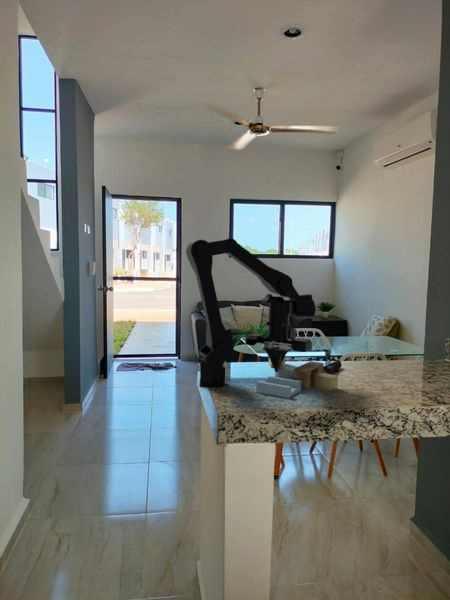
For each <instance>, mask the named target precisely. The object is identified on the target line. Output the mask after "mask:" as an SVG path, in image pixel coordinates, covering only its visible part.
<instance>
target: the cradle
mask: <svg viewBox="0 0 450 600" xmlns="http://www.w3.org/2000/svg"><path fill="white" fill-rule="evenodd" d="M301 391H302V389H301V381H298V380H291V379H285V378H279V377H278V376H271V375H269V376H267V381H262V380H258V381H257V382H256V391H255V392H256V393H259V394H266V395H269V396H275V397H279V398H286V399H289V398H291V397H292V396H294V394H295V395H296V394H298V393H300V392H301Z"/></svg>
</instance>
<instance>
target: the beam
mask: <svg viewBox="0 0 450 600" xmlns="http://www.w3.org/2000/svg"><path fill="white" fill-rule="evenodd" d="M324 366H325V364H324V362H319V361H311V360H310V361H308V362H305V363H303V364H301V365H298V366H297V367H295V368H294V367H293V368H294V380H298V381H301V390H307V391H308V390H309V389H311V387H310V385H311V371H312V372H314V371H316V372H321V373H323V368H324Z"/></svg>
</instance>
